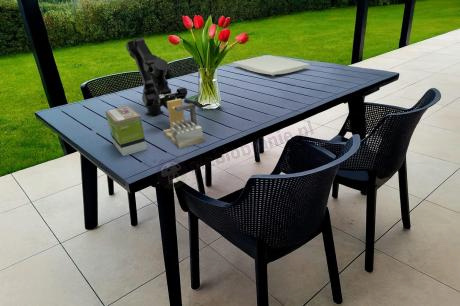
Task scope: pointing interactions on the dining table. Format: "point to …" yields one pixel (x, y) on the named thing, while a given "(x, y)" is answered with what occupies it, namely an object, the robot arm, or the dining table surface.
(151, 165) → the dining table surface
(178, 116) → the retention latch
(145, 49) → the robot arm
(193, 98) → the disk drive
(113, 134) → the tea box
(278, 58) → the board
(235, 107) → the dining table surface
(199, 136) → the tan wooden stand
